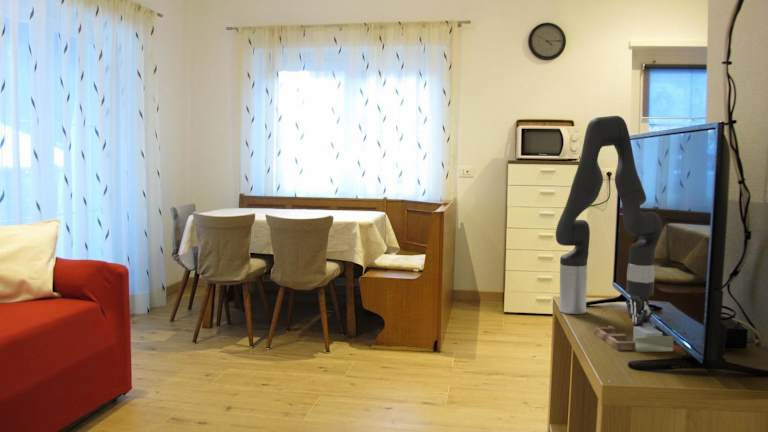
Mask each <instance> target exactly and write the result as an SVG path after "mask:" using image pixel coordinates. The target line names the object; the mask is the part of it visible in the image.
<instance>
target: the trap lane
mask: <svg viewBox="0 0 768 432" xmlns="http://www.w3.org/2000/svg"><path fill="white" fill-rule="evenodd" d="M616 330H617V328H616V327H614V326H612V325H608V326H607V327H594V335H595V336H597V337H598V338H600V339H601V340H602V341H603V342H605V343H606V344H608V345H609V346H610V347H611V348H613V349H615V350H616V351H625V350H626V351H627V350H628V351H629V350H630V351H631V350H632V351H634V352H638V353H639V352H646V353H647V352H674V337H673V336H672V335H663V336H644V337H635V342H633V341H628V335H626V334H625V333H617V331H616ZM671 336H672V337H673V338H672V337H671Z"/></svg>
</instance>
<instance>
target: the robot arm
mask: <svg viewBox="0 0 768 432" xmlns="http://www.w3.org/2000/svg"><path fill="white" fill-rule="evenodd" d="M610 146H614V148H615V151H616V154H617V166H616V170H615V175H614V184H615V189H616V190H617V191H616V192H617V194H618V196H619V199H620V201H621V202H620V203H621V210H622V222H623V226H624V229H625V231H626V232H627V233H628V234H629V235H630V236H632V237H638V239H637V241H636V242H634V243H632V244H631V245H630V246H629V248H628V264H627V269H626V287H625V288H626V289H625V292H626V294H628V295H629V298H630V299H627V300H625V303H626V308H627V313H628V316H629V318H630V319H631V320H632V321H631V322H632V323H633V324H632V325H633V327H638V326H644V324H648V323H649V321H650V319H651V317H652V316H653V313H654V311H653V309H650V308H649V306H650V302H649V298H650V297H652V296H653V295H654V291H655V289H654V288H655V256H656V255H655V252H656V249H657V245H658V242H659V240H660V236H661V233H662V228H663V224H662V220H661V217H660V215H659V214H658V213H656V212H654V211H642V210H641V206H642V205H644V204H645V203H646V202H647V196H646V192H645V190H644V187H643V184H642V181H641V180H640V178H639V177H640V176H639V174H638V172H637V166H636V162H635V157H634V152H633V147H632V142H631V137H630V132H629V128H628V126H627V122H626V121H625V119H624V118H623V117H622V116H619V115H609V116H599V117H598V116H597V117H594V118H592V119H591V120H590V121H589V123H587V127H586V130H585V135H584V139H583V143H582V148H581V149H582V150H581V155H580V158H579V162H578V166H577V169H576V172H575V174H574V177H573V180H572V184H571V186H570V189H569V194H568V198H567V200H566V203H565V207H564V209H563V210H562V213H561V215H560V218H559V220H558V222H557V225H556V229H555V240H556V242H557V244H559V245H561V246H565V247H569V246H573V249H572V250H570V252H569V251H568V252H567V253H565V254H562V255H561V256H560V259H559V261H560V262H559V301H558V303H559V305H558V308H559V309H558V311H559V312H561V313H564V314H568V315H569V314H570V315H584V314H586V312H587V285H588V284H587V281H588V279H587V278H588V277H587V276H588V260H589V249H590V236H591V235H590V233H591V230H590V229H591V228H590V225H589V223H588V221H586V219H585V220H584V219H577V218H578V217H579V216H580V215H581V214H582V213H583V212H584V211H586V210H587V209H588V208H590V206H591V205H593V204H594V202H596V200H597V199H598V197H599V195H600V193H601V190H602V186H603V183H604V175H603V172H602V170H601V168H600V165H599V162H598V158H599V154H600V151H601V149H602V148H603V147H610ZM633 327H632V328H633Z"/></svg>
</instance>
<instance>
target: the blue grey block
mask: <svg viewBox="0 0 768 432" xmlns="http://www.w3.org/2000/svg"><path fill="white" fill-rule="evenodd" d="M632 328H633V329H632V330H633V331H632V334H633V335H632V342H635V337H644V336H664V335H663V333H664V332H662V331H660V330H658V329H656V328H655V327H652V326H650V325H645V326H644V325H643V326H638V327H632Z"/></svg>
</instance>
